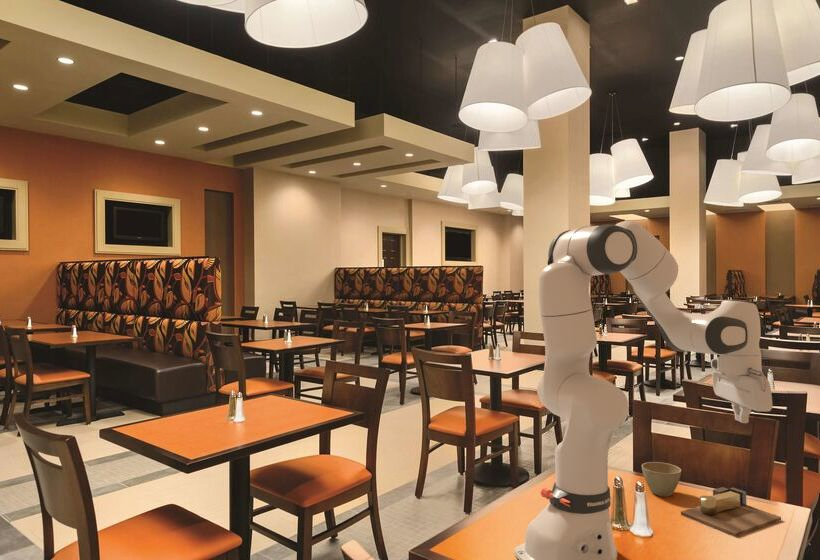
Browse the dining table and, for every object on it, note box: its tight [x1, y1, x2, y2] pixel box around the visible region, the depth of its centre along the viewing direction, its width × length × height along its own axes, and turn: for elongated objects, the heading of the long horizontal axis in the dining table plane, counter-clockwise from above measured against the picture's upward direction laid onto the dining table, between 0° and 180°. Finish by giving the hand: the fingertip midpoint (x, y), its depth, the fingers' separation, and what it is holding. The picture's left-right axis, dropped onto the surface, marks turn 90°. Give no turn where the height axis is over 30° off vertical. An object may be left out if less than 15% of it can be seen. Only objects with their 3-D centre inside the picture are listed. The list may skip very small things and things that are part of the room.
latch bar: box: [699, 491, 740, 515], centre depth 139 cm, size 12×4×3 cm, turn 114°
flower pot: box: [641, 461, 682, 497], centre depth 153 cm, size 10×10×7 cm
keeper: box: [712, 486, 747, 506], centre depth 143 cm, size 6×5×3 cm
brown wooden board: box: [680, 504, 782, 537], centre depth 136 cm, size 18×14×1 cm
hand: (741, 421), depth 135 cm, fingers closed
